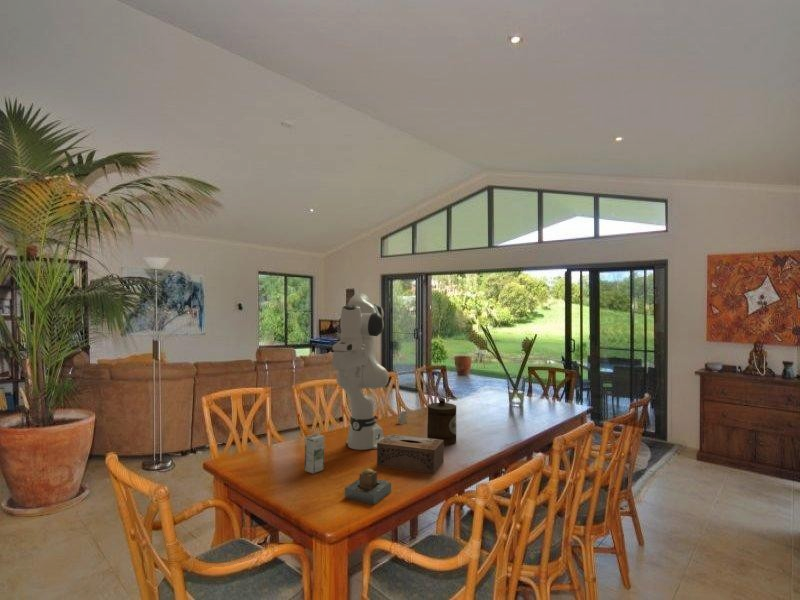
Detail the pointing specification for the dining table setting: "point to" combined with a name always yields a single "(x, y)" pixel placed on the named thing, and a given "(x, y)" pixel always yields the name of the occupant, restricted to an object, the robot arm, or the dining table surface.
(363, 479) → the brown block with knob
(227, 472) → the dining table surface
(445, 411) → the wooden container
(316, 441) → the syrup box
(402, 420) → the architectural model
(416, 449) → the tissue box cover
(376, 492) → the grey square socket base
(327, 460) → the dining table surface
